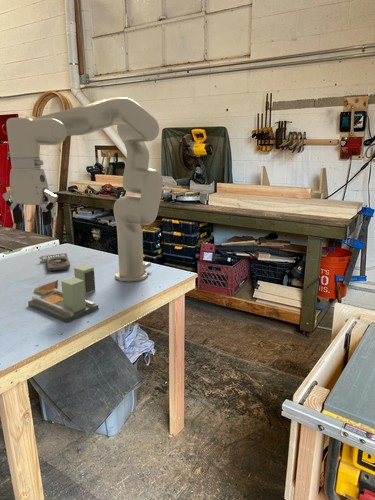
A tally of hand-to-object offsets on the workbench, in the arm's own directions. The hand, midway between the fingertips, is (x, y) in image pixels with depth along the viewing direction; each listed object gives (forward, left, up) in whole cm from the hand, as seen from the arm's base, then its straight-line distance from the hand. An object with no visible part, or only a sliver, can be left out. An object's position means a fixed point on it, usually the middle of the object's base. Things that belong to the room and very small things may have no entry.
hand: (32, 223), depth 111 cm
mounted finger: (-5, +9, -26) cm, 29 cm away
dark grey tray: (-5, +3, -28) cm, 29 cm away
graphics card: (-29, -34, -29) cm, 53 cm away
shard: (-11, -15, -29) cm, 34 cm away
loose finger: (-18, -2, -28) cm, 33 cm away
